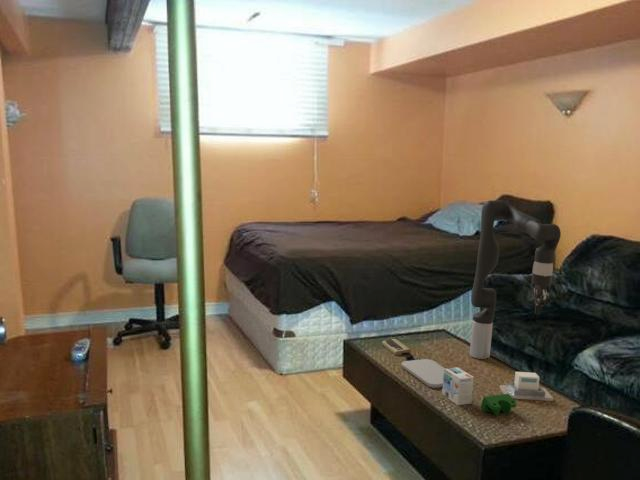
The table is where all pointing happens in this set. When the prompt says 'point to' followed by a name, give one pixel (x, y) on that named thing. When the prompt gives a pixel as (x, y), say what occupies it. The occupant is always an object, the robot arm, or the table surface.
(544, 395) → the grey flat block
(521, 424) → the table surface
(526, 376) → the block
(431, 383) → the tablet
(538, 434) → the table surface
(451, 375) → the light bulb box
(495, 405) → the clamp
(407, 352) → the computer
